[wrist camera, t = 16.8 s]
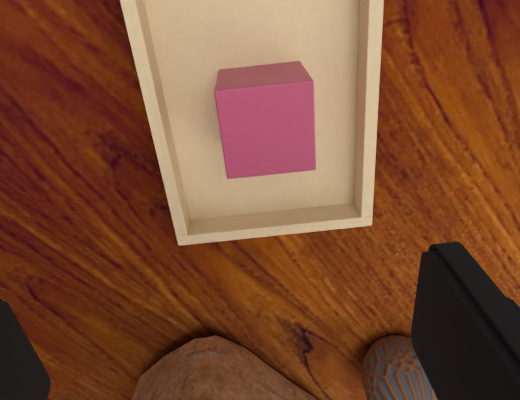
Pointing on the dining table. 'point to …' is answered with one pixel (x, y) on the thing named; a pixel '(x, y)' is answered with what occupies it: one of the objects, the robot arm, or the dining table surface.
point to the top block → (266, 119)
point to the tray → (206, 119)
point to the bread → (214, 375)
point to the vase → (395, 371)
